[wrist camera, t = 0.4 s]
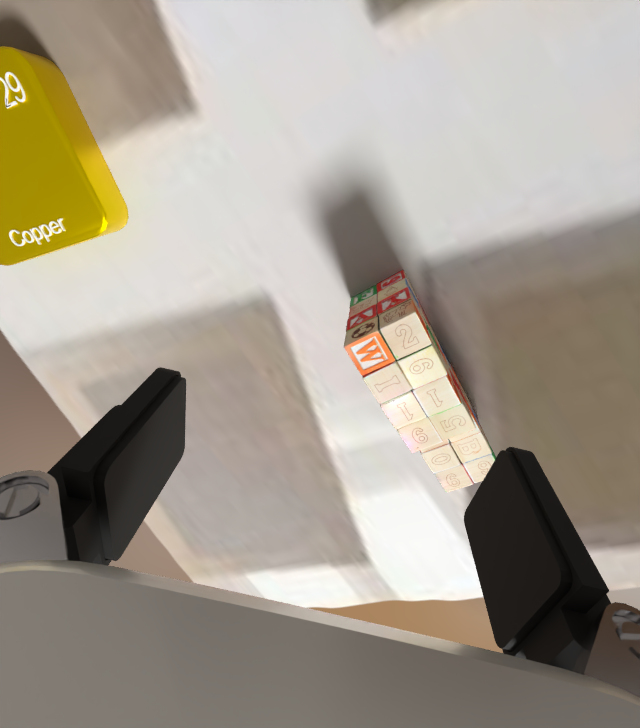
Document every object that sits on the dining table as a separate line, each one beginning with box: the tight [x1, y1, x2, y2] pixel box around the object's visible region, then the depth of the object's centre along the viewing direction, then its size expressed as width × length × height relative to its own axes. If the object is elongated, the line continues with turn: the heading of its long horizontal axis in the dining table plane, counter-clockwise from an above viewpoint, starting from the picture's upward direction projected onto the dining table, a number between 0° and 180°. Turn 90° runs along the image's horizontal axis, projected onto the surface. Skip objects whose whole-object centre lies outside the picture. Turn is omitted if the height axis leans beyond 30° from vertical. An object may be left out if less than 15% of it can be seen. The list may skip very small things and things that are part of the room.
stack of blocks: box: [344, 270, 496, 493], centre depth 38 cm, size 21×6×12 cm, turn 32°
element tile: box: [0, 46, 128, 265], centre depth 36 cm, size 15×15×5 cm
